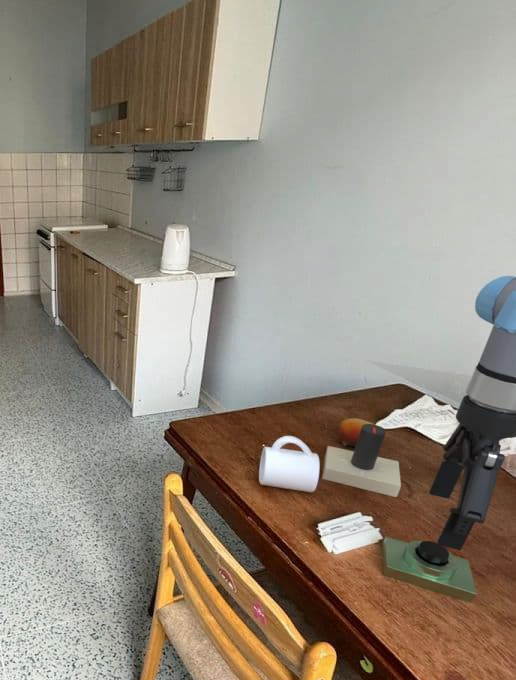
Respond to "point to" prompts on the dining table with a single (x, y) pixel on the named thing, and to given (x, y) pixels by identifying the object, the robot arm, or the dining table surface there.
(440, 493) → the robot arm
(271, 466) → the mug
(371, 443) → the dark grey cylinder
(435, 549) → the button
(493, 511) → the dining table surface
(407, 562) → the button box
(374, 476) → the panel
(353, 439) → the fruit
